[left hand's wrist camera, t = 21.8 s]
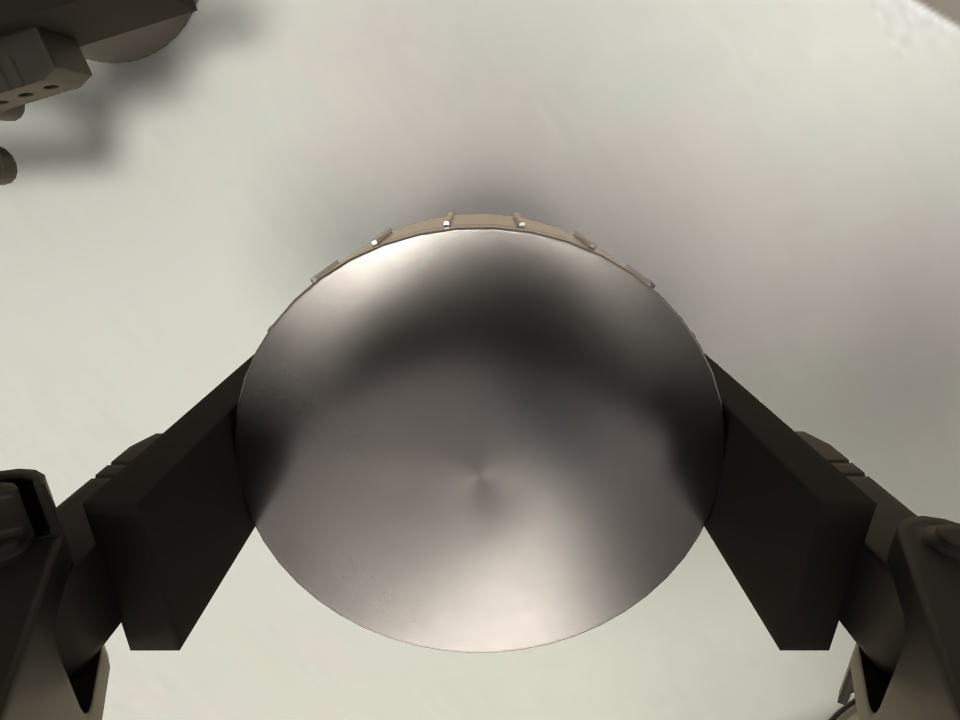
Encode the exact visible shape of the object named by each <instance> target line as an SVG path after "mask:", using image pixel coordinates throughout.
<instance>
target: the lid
mask: <svg viewBox="0 0 960 720" xmlns="http://www.w3.org/2000/svg"><path fill="white" fill-rule="evenodd" d="M596 246H597V245H596V244H595V243H593V242H592V241H591V240H589V239H588V238H587V237H585V236H584V235H582V234H581V233H579V232H577V231H576V232H575V234H571V233H569V232H566V231H564V230H562V229H559V228H557V227H554V226H552V225H548V224H545V223H541V222H537V221H533V220H529V219H525V218H522V217H521V215H520V214H519V213H515V212H514V214H513V216H505V215H496V214H460V215H454V212H453V211H452V212H448V213H447V215H446V217H440V218H434V219H429V220H425V221H422V222H419V223H415V224H412V225H409V226H405V227H402V228H399V229H397V230H395V231H393V232H392V230H391V228H389V229H386V230H385V231H384V232H382V233H381V234H380V235H378V236H377V237H376V238H374V239H373V240H372V241H371V242H370V243H369V244H367V245H365V246H364V247H362V248H361V249H359V250H358V251H356V252H354V253H353V254H351V255H350V256H348V257H347V258H346V259H344V260H343V261H342V262H340V263H339V262H338V261H337V260H336V261H335V262H334V263H332V264H331V265H329V266H328V267H327V268H325V269H324V270H322V271H321V272H320V273H318V274H317V275H315V276H314V277H313V278H312V279H311V280H310V281H311V282H312V283H313V284H312V285H311V286H310V287H309V288H307V289H306V290H305V291H304V292H303V293H302V294H300V295H299V296H298V297H297V298H296V299H295V300H294V301H293V302H292V303H291V304H290V305H289V307H288V308H287V309H286V310H285V311H284V312H283V313H282V315H281V316H280V317H279V318H278V319H277V320H276V322H275V323H274V324H273V325H272V326H270V327H269V329H268V333H267V335H266V336H265V338H264V340H263V341H262V343H261V344H260V346H259V348H258V349H257V351H256V353H255V355H254V357H253V360H252V362H251V364H250V367H249V369H248V371H247V374H246V376H245V378H244V382H243V386H242V389H241V393H240V397H239V401H238V405H237V411H236V422H235V433H234V444H235V457H236V463H237V468H238V473H239V478H240V483H241V488H242V493H243V497H244V500H245V503H246V506H247V508H248V511H249V514H250V516H251V519H252V521H253V522H254V524H255V526H256V528H257V530H258V532H259V534H260V535H261V537H262V539H263V541H264V543H265V544H266V545H267V547H268V548H269V549H270V551H271V552H272V554H273V555H274V556H275V558H276V559H277V561H278V562H279V563H280V564H281V566H282V567H283V568H284V569H285V570H286V571H287V572H288V573H289V574H290V575H291V576H292V577H293V578H294V580H295V581H296V582H297V583H298V584H300V585H301V586H302V587H303V588H304V589H305V590H307V591H308V592H309V593H310V594H311V595H312V596H314V597H315V598H316V599H317V600H318V601H320V602H321V603H323V604H324V605H326V606H327V607H329V608H330V609H332V610H333V611H335V612H336V613H338V614H339V615H341V616H343V617H345V618H347V619H348V620H350V621H352V622H354V623H356V624H358V625H360V626H362V627H364V628H366V629H368V630H371V631H373V632H376V633H378V634H381V635H383V636H386V637H389V638H392V639H395V640H399V641H402V642H406V643H409V644H413V645H416V646H422V647H427V648H433V649H438V650H445V651H457V652H469V653H472V652H503V651H512V650H521V649H527V648H532V647H537V646H542V645H547V644H551V643H554V642H557V641H560V640H564V639H567V638H570V637H573V636H576V635H579V634H581V633H583V632H586V631H588V630H590V629H593V628H595V627H597V626H600V625H602V624H604V623H605V622H607V621H609V620H611V619H612V618H614V617H616V616H618V615H620V614H621V613H623V612H625V611H626V610H628V609H629V608H630V607H632V606H633V605H635V604H636V603H638V602H639V601H640V600H642V599H643V598H645V597H646V596H647V595H648V594H649V593H650V592H652V591H653V590H654V589H655V588H656V587H657V586H658V585H659V584H660V583H662V582H663V581H664V580H665V579H666V578H667V577H668V576H669V575H670V573H671V572H672V571H673V570H674V569H675V568H676V567H677V565H678V564H679V563H680V562H681V561H682V560H683V559H684V557H685V556H686V554H687V553H688V551H689V550H690V548H691V547H692V545H693V544H694V542H695V541H696V539H697V538H698V536H699V535H700V533H701V531H702V529H703V527H704V525H705V523H706V521H707V519H708V517H709V515H710V513H711V510H712V507H713V504H714V501H715V498H716V495H717V490H718V486H719V480H720V475H721V470H722V465H723V459H724V452H725V426H724V418H723V410H722V403H721V398H720V395H719V392H718V388H717V385H716V381H715V378H714V375H713V372H712V370H711V367H710V365H709V363H708V361H707V359H706V357H705V355H704V353H703V351H702V348H701V346H700V344H699V343H698V341H697V340H696V339H695V338H696V337H695V335H694V333H692V332H691V331H690V330H689V328H688V327H687V325H686V324H685V322H684V321H683V319H682V318H681V317H680V316H679V315H678V314H677V313H676V312H675V310H674V309H673V308H672V307H671V306H670V305H669V304H668V303H667V302H666V301H665V300H664V299H663V298H662V296H661V295H660V294H659V293H657V292H656V291H655V290H654V289H653V288H654V287H655V285H654V284H653V283H652V282H651V281H650V280H648V279H647V278H645V277H644V276H643V275H641V274H640V273H639V272H637V271H636V270H634V269H633V268H632V267H630V266H629V265H627V266H626V267H624V266H623V265H622V264H620V263H619V262H618V261H616V260H615V259H614V258H612V257H611V256H609V255H608V254H607V253H605V252H604V251H602V250H601V249H599V248H597V247H596Z"/></svg>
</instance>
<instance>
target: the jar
mask: <svg viewBox="0 0 960 720" xmlns="http://www.w3.org/2000/svg"><path fill="white" fill-rule="evenodd" d="M196 1H197V0H194V2H195V4H196ZM191 14H192V12H191V13H187V14H184V15H181V16H178V17H174V18H171V19H168V20H165V21H162V22H158V23H155V24H152V25H149V26H145V27H142V28H139V29H136V30H133V31H129V32H126V33H123V34H120V35H116V36H113V37H110V38H107V39H104V40H100V41H97V42H94V43H91V44H88V45H84V46H81V47H80V49H81V51H82V53H83V55H84V58H85V59H89V60H94V61H99V62H111V63H119V62H130V61H133V60H137V59H141V58H144V57H146V56H149V55H151V54H153V53H155V52H157V51H158V50H160V49H161V48H163V47H164V46H166V45H167V44H168V43H169V42H170V41H171V40H173V39H174V38H175V37H176V36H177V35H178V33H179V32H180V31H181V29H182V28H183V27H184V26H185V24H186V22H187V21H188V19H189V17H190V15H191Z"/></svg>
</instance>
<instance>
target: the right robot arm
mask: <svg viewBox="0 0 960 720" xmlns="http://www.w3.org/2000/svg"><path fill="white" fill-rule="evenodd" d="M194 11H197V8H196V5H195V2H194V0H0V120H3V121H16V120H17V119H19V118H21V116H22V115H23V113H24V110H25V104H26V103H30V102H33V101H36V100H40V99H43V98H46V97H48V96H53V95H56V94H59V93H61V92H66V91H69V90H73V89H76V88H79V87H81V86H82V85H83V84H84V83H85V82H86V81H87V80H88V79H89V78H90V77H91V76H92V73H91V71H90V69H89V66H88V64H87V62H86V60H85V58H84V55H83V53H82V51H81V49H80V47H81V46H84V45H88V44H91V43H94V42H97V41H100V40H104V39H107V38H110V37H113V36H116V35H120V34H123V33H126V32H129V31H133V30H136V29H139V28H142V27H145V26H149V25H152V24H155V23H158V22H162V21H165V20H168V19H171V18H174V17H178V16H181V15H184V14H187V13H191V12H194ZM16 175H17V166H16V162H15V160H14V159H13V157H12V155H11V154H10V153H9V152H8V151H7V150H6V149H4V148H2V147H0V185H6V184H9V183H12V181H13V180H14V179H15V178H16Z"/></svg>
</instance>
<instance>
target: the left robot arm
mask: <svg viewBox="0 0 960 720" xmlns="http://www.w3.org/2000/svg"><path fill="white" fill-rule="evenodd" d="M254 355H255V354H254ZM254 355H253V356H252V357H251V358H249V359H248V360H247V361H246V362H245V363H244V364H242V365H241V366H240V367H239V368H238V369H237V370H236V371H234V372H233V373H232V374H231V375H230V376H229V377H227V378H226V379H225V380H224V381H223V382H222V383H221V384H219V385H218V386H217V387H216V388H215V389H214V390H213V391H211V392H210V393H209V394H208V395H207V396H206V397H204V398H203V399H202V400H201V401H200V402H199V403H198V404H196V405H195V406H194V407H193V408H192V409H191V410H190V411H188V412H187V413H186V414H185V415H184V416H183V417H181V418H180V419H179V420H178V421H177V422H176V423H175V424H173V425H172V426H171V427H170V428H169V429H168V430H167V431H165V432H164V433H163V434H154V435H152V436H150V437H148V438H146V439H144V440H142V441H140V442H139V443H137V444H135V445H133V446H131V447H129V448H128V449H127V450H126V451H124V452H123V453H122V454H121V455H119V456H118V457H117V458H116V459H115V460H113V461H112V462H111V465H107V466H106V467H105V468H104V469H102V470H101V471H100V472H99V473H98V474H96V477H95V479H90V480H89V481H88V482H87V483H86V484H84V485H83V486H82V487H81V488H79V489H78V490H77V491H76V492H75V493H73V494H72V495H71V496H70V497H69V498H67V499H66V500H65V501H64V502H62V503H61V504H60V505H59V506H58V507H56V506H55V503H54V500H53V498H52V495H51V492H50V489H49V486H48V483H47V480H46V478H45V475H44V474H42V473H40V472H38V471H36V470H29V469H14V470H6V471H0V720H102V716H103V709H104V703H105V696H106V689H107V683H108V676H109V670H110V664H109V658H108V654H107V651H106V648H105V646H104V644H105V642H106V641H107V640H108V639H109V637H110V636H111V635H112V633H113V632H114V631H115V630H116V628H117V627H118V626H119V624H120V623H122V626H123V629H124V632H125V635H126V638H127V641H128V644H129V647H130V650H180V649H181V647H182V646H183V644H184V642H185V641H186V639H187V637H188V636H189V634H190V632H191V631H192V629H193V627H194V626H195V624H196V623H197V621H198V619H199V618H200V616H201V614H202V613H203V611H204V609H205V608H206V606H207V605H208V603H209V601H210V600H211V598H212V596H213V595H214V593H215V591H216V590H217V588H218V586H219V585H220V583H221V582H222V580H223V578H224V577H225V575H226V573H227V572H228V570H229V568H230V567H231V565H232V564H233V562H234V560H235V559H236V557H237V555H238V554H239V552H240V550H241V549H242V547H243V545H244V544H245V542H246V541H247V539H248V537H249V536H250V534H251V532H252V531H253V529H254V527H255V524H254V522H253V521H252V519H251V516H250V514H249V511H248V508H247V506H246V503H245V500H244V497H243V493H242V488H241V483H240V478H239V473H238V468H237V463H236V457H235V444H234V433H235V422H236V411H237V405H238V401H239V397H240V393H241V389H242V386H243V382H244V378H245V376H246V374H247V371H248V369H249V367H250V364H251V362H252V360H253V357H254ZM704 355H705V357H706V359H707V361H708V363H709V365H710V367H711V370H712V372H713V375H714V378H715V381H716V385H717V388H718V392H719V395H720V398H721V403H722V410H723V418H724V426H725V452H724V459H723V465H722V470H721V475H720V480H719V486H718V490H717V495H716V498H715V501H714V504H713V507H712V510H711V513H710V515H709V517H708V519H707V521H706V523H705V525H704V526H705V528H706V530H707V531H708V533H709V535H710V536H711V538H712V539H713V541H714V543H715V544H716V546H717V548H718V549H719V551H720V553H721V554H722V556H723V558H724V559H725V561H726V562H727V564H728V566H729V567H730V569H731V571H732V572H733V574H734V576H735V577H736V579H737V580H738V582H739V584H740V585H741V587H742V589H743V590H744V592H745V594H746V595H747V597H748V599H749V600H750V602H751V603H752V605H753V607H754V608H755V610H756V612H757V613H758V615H759V617H760V618H761V620H762V621H763V623H764V625H765V626H766V628H767V630H768V631H769V633H770V635H771V636H772V638H773V640H774V641H775V643H776V644H777V646H778V648H779V649H780V650H829V649H830V646H831V643H832V640H833V637H834V633H835V630H836V627H837V624H838V621H840V622H841V623H842V625H843V626H844V627H845V628H846V630H847V631H848V632H849V634H850V635H851V636H852V637H853V639H854V640H855V641H856V646H855V648H854V651H853V654H852V657H851V660H850V663H849V665H848V668H847V671H846V674H845V677H844V680H843V683H842V685H841V688H840V691H839V697H838V703H840V704H843V705H847V702H848V700H849V697H850V694H851V693H853V692H854V694H855V701H856V703H855V704H854V705H852V706H851V707H850V708H848V709H847V710H846V711H845V712H843V713H842V714H841V715H840V716H839V717H838V718H837V719H835V720H960V524H958V523H955V522H952V521H949V520H945V519H940V518H933V517H927V516H916V515H915V514H914V513H913V512H911V511H910V510H909V509H908V508H907V507H905V506H904V505H903V504H902V503H900V502H899V501H898V500H897V499H896V498H894V497H893V496H892V495H891V494H890V493H888V492H887V491H886V490H885V489H883V488H882V487H881V486H880V485H879V484H877V483H876V482H875V481H874V480H872V479H871V478H870V477H865V473H864V472H863V471H861V470H860V469H859V468H858V467H857V466H855V465H854V464H853V463H849V460H848V459H847V458H846V457H844V456H843V455H842V454H841V453H839V452H838V451H837V450H836V449H835V448H833V447H832V446H831V445H829V444H827V443H825V442H823V441H821V440H819V439H817V438H815V437H813V436H811V435H809V434H807V433H805V432H794V431H793V430H792V429H791V428H790V427H789V426H787V425H786V424H785V423H784V422H783V421H782V420H780V419H779V418H778V417H777V416H776V415H775V414H774V413H772V412H771V411H770V410H769V409H768V408H767V407H766V406H764V405H763V404H762V403H761V402H760V401H759V400H757V399H756V398H755V397H754V396H753V395H752V394H751V393H749V392H748V391H747V390H746V389H745V388H744V387H742V386H741V385H740V384H739V383H738V382H737V381H736V380H734V379H733V378H732V377H731V376H730V375H729V374H728V373H726V372H725V371H724V370H723V369H722V368H721V367H719V366H718V365H717V364H716V363H715V362H714V361H713V360H711V359H710V358H709V357H708V356H707V355H706V354H705V353H704Z"/></svg>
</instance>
